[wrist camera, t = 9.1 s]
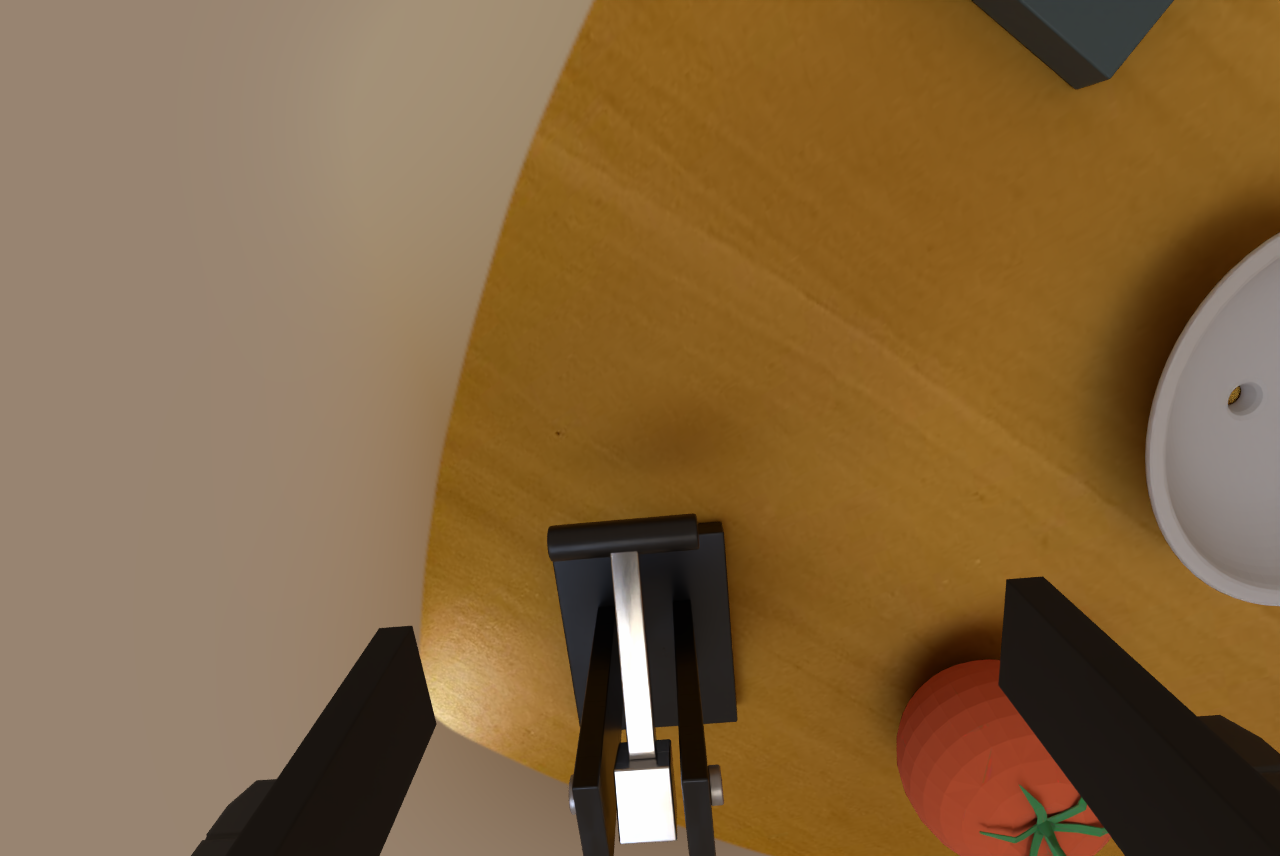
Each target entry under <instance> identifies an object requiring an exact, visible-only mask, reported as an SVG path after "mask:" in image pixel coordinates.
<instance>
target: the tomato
mask: <svg viewBox="0 0 1280 856" xmlns="http://www.w3.org/2000/svg"><path fill="white" fill-rule="evenodd" d="M999 669H1000V660H993V659H987V660H976V661H970V662H966V663H962V664H958V665H954V666H952V667H949V668H947V669H945V670H942V671H941V672H939V673H938V674H936V675H934V676H933V677H931V678H930V679H929V680H928V681H927V682H926V683H925V684H923V685H922V686H921V687H920V688H919V689H918V690H917V691H916V693H915V694H914V695H913V697H912V698H911V699H910V700H909V702H908V704H907V706H906V708H905V710H904V712H903V715H902V718H901V721H900V725H899V729H898V733H897V765H898V769H899V773H900V777H901V780H902V783H903V787H904V790H905V793H906V795H907V797H908V798H909V800H910V802H911V804H912V805H913V807H914V809H915V811H916V812H917V814H918V816H919V817H920V819H921V821H922V822H923V823H924V824H925V825H926V826H927V827H928V828H929V829H930V830H931V831H932V833H933V834H934V835H935V836H936V837H937V838H938V839H939V840H940V841H941V842H942V843H943V844H944V845H945V846H947V847H948V848H950V849H951V850H953V851H954V852H956V853H957V854H959V855H960V856H1093V855H1095V854H1096V853H1097V852H1099V851H1100V850H1101V849H1102V847H1103V846H1104V845H1105V844H1106V843H1107V842H1108V841H1109V839H1110V838H1111V836H1110V835H1109V833H1108V832H1107V831H1106V829H1105V828H1104V827H1103V825H1102V824H1101V823H1100V821H1099V820H1098V819H1097V817H1096V816H1095V815H1094V813H1093V812H1092V811H1091V809H1090V808H1089V806H1088V805H1087V804H1086V802H1085V801H1084V800H1083V798H1082V797H1081V796H1080V794H1079V793H1078V792H1077V790H1076V789H1075V788H1074V786H1073V785H1072V784H1071V782H1070V781H1069V780H1068V778H1067V777H1066V776H1065V774H1064V773H1063V772H1062V770H1061V769H1060V768H1059V766H1058V765H1057V763H1056V762H1055V761H1054V759H1053V758H1052V757H1051V755H1050V754H1049V753H1048V751H1047V750H1046V749H1045V747H1044V746H1043V745H1042V743H1041V742H1040V741H1039V739H1038V738H1037V737H1036V735H1035V734H1034V733H1033V731H1032V730H1031V729H1030V727H1029V726H1028V725H1027V723H1026V722H1025V721H1024V719H1023V718H1022V716H1021V715H1020V714H1019V712H1018V711H1017V710H1016V708H1015V707H1014V706H1013V704H1012V703H1011V702H1010V700H1009V699H1008V698H1007V696H1006V695H1005V694H1004V692H1003V691H1002V690H1001V688H1000V687H999V686H998V682H999Z"/></svg>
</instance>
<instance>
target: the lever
mask: <svg viewBox="0 0 1280 856" xmlns="http://www.w3.org/2000/svg"><path fill="white" fill-rule="evenodd" d="M547 546H548V553H549V557H550V559H551V561H553V562H555V561H567V560H579V559H591V558H603V557H611V567H612V578H613V589H614V601H615V612H616V623H617V634H618V646H619V657H620V668H621V680H622V691H623V702H624V713H625V725H626V736H627V742H623V743H619V744H618V749H617V755H616V760H615V765H614V770H613V774H614V786H615V797H616V809H617V820H618V831H619V841H620V844H635V843H651V842H668V841H676V840H677V802H676V791H675V780H674V769H673V758H672V747H671V740H669V739H667V740H656V730H655V719H654V708H653V697H652V686H651V675H650V664H649V653H648V642H647V631H646V620H645V609H644V598H643V587H642V576H641V565H640V554H651V553H663V552H675V551H687V550H697V549H699V535H698V525H697V517H696V514H682V515H671V516H659V517H648V518H636V519H625V520H613V521H601V522H590V523H578V524H567V525H555V526H550V527H549V529H548V534H547Z"/></svg>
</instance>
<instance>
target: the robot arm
mask: <svg viewBox="0 0 1280 856" xmlns="http://www.w3.org/2000/svg"><path fill="white" fill-rule="evenodd" d="M998 686H999V687H1000V688H1001V690H1002V691H1003V692H1004V694H1005V695H1006V696H1007V698H1008V699H1009V700H1010V702H1011V703H1012V704H1013V706H1014V707H1015V708H1016V710H1017V711H1018V712H1019V714H1020V715H1021V716H1022V718H1023V719H1024V721H1025V722H1026V723H1027V725H1028V726H1029V727H1030V729H1031V730H1032V731H1033V733H1034V734H1035V735H1036V737H1037V738H1038V739H1039V741H1040V742H1041V743H1042V745H1043V746H1044V747H1045V749H1046V750H1047V751H1048V753H1049V754H1050V755H1051V757H1052V758H1053V759H1054V761H1055V762H1056V763H1057V765H1058V766H1059V768H1060V769H1061V770H1062V772H1063V773H1064V774H1065V776H1066V777H1067V778H1068V780H1069V781H1070V782H1071V784H1072V785H1073V786H1074V788H1075V789H1076V790H1077V792H1078V793H1079V794H1080V796H1081V797H1082V798H1083V800H1084V801H1085V802H1086V804H1087V805H1088V806H1089V808H1090V809H1091V811H1092V812H1093V813H1094V815H1095V816H1096V817H1097V819H1098V820H1099V821H1100V823H1101V824H1102V825H1103V827H1104V828H1105V829H1106V831H1107V832H1108V833H1109V835H1110V836H1111V837H1112V839H1113V840H1114V841H1115V843H1116V844H1117V845H1118V847H1119V848H1120V849H1121V851H1122V852H1123V853H1124V855H1125V856H1280V754H1279V753H1278V752H1277V751H1276V750H1275V749H1273V748H1272V747H1271V746H1270V745H1269V744H1268V743H1266V742H1265V741H1264V740H1263V739H1262V738H1260V737H1259V736H1257V735H1255V734H1253V733H1251V732H1250V731H1248V730H1246V729H1244V728H1242V727H1241V726H1239V725H1237V724H1235V723H1234V722H1232V721H1230V720H1228V719H1226V718H1225V717H1223V716H1221V715H1213V716H1198V717H1197V716H1196V715H1195V714H1194V713H1193V712H1191V711H1190V710H1189V709H1188V708H1187V707H1186V706H1185V705H1184V704H1183V703H1182V702H1180V701H1179V700H1178V699H1177V698H1176V697H1175V696H1174V695H1173V694H1172V693H1171V692H1169V691H1168V690H1167V689H1166V688H1165V687H1164V686H1163V685H1162V684H1161V683H1160V682H1158V681H1157V680H1156V679H1155V678H1154V677H1153V676H1152V675H1151V674H1150V673H1149V672H1147V671H1146V670H1145V669H1144V668H1143V667H1142V666H1141V665H1140V664H1139V663H1138V662H1136V661H1135V660H1134V659H1133V658H1132V657H1131V656H1130V655H1129V654H1128V653H1127V652H1125V651H1124V650H1123V649H1122V648H1121V647H1120V646H1119V645H1118V644H1117V643H1116V642H1114V641H1113V640H1112V639H1111V638H1110V637H1109V636H1108V635H1107V634H1106V633H1105V632H1103V631H1102V630H1101V629H1100V628H1099V627H1098V626H1097V625H1096V624H1095V623H1094V622H1092V621H1091V620H1090V619H1089V618H1088V617H1087V616H1086V615H1085V614H1084V613H1083V612H1081V611H1080V610H1079V609H1078V608H1077V607H1076V606H1075V605H1074V604H1073V603H1072V602H1070V601H1069V600H1068V599H1067V598H1066V597H1065V596H1064V595H1063V594H1062V593H1061V592H1059V591H1058V590H1057V589H1056V588H1055V587H1054V586H1053V585H1052V584H1051V583H1050V582H1048V581H1047V580H1046V579H1045V578H1044V577H1031V578H1019V579H1007V580H1006V593H1005V606H1004V618H1003V631H1002V644H1001V657H1000V669H999V682H998ZM435 726H436V720H435V716H434V712H433V708H432V704H431V700H430V696H429V692H428V688H427V684H426V680H425V676H424V672H423V667H422V663H421V659H420V655H419V651H418V647H417V643H416V639H415V635H414V631H413V627H412V626H402V627H389V628H379V629H378V631H377V632H376V634H375V635H374V637H373V638H372V640H371V641H370V643H369V644H368V646H367V647H366V649H365V650H364V652H363V653H362V655H361V656H360V657H359V659H358V661H357V662H356V663H355V665H354V666H353V668H352V669H351V671H350V672H349V674H348V675H347V677H346V678H345V680H344V681H343V682H342V684H341V685H340V687H339V688H338V690H337V692H336V693H335V694H334V696H333V697H332V699H331V700H330V702H329V703H328V705H327V706H326V708H325V709H324V710H323V712H322V713H321V715H320V716H319V718H318V719H317V721H316V723H315V724H314V725H313V727H312V728H311V730H310V731H309V733H308V734H307V736H306V737H305V738H304V740H303V741H302V743H301V745H300V746H299V747H298V749H297V750H296V752H295V753H294V755H293V756H292V758H291V759H290V761H289V762H288V764H287V765H286V767H285V768H284V769H283V771H282V773H281V774H280V775H279V777H278V778H277V779H273V780H258V781H256V782H254V783H253V784H252V785H251V786H250V787H249V788H247V789H246V790H245V791H244V792H243V793H242V794H241V795H239V797H237V798H236V799H235V800H234V801H233V802H231V803H230V804H229V805H228V806H227V807H226V809H225V810H224V811H223V813H222V814H221V815H220V817H219V818H218V820H217V821H216V822H215V824H214V825H213V826H212V828H211V829H210V830H209V832H208V833H207V837H206V839H205V840H202V841H201V843H200V844H199V845H198V847H197V848H196V850H195V851H194V852H193V854H192V855H191V856H380V853H381V851H382V849H383V846H384V844H385V842H386V839H387V837H388V835H389V833H390V830H391V828H392V826H393V823H394V821H395V818H396V816H397V814H398V811H399V809H400V807H401V805H402V803H403V800H404V797H405V795H406V793H407V791H408V789H409V786H410V784H411V782H412V779H413V777H414V775H415V773H416V770H417V768H418V765H419V763H420V761H421V759H422V757H423V754H424V752H425V750H426V747H427V745H428V743H429V740H430V738H431V735H432V734H433V731H434V729H435Z"/></svg>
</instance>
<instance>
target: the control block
mask: <svg viewBox="0 0 1280 856" xmlns="http://www.w3.org/2000/svg"><path fill="white" fill-rule="evenodd" d="M972 1H973V2H974V3H976V4H977V5H978V6H979V7H980V8H981V9H983V10H984V11H985V12H986V13H987V14H988V15H990V16H991V17H992V18H993V19H994V20H995V21H997V22H998V23H999V24H1000V25H1001V26H1002V27H1003V28H1005V29H1006V30H1007V31H1008V32H1009V33H1010V34H1012V35H1013V36H1014V37H1015V38H1016V39H1017V40H1019V41H1020V42H1021V43H1022V44H1023V45H1024V46H1026V47H1027V48H1028V49H1029V50H1030V51H1031V52H1033V53H1034V54H1035V55H1036V56H1037V57H1038V58H1040V59H1041V60H1042V61H1043V62H1044V63H1045V64H1047V65H1048V66H1049V67H1050V68H1051V69H1052V70H1054V71H1055V72H1056V73H1057V74H1058V75H1059V76H1061V77H1062V78H1063V79H1064V80H1065V81H1066V82H1068V83H1069V84H1070V85H1071V86H1072V87H1073V88H1075V89H1080V88H1083V87H1086V86H1089V85H1092V84H1096V83H1099V82H1102V81H1105V80H1108V79H1110V78H1111V77H1112V76H1113V75H1114V73H1115V72H1116V71H1117V70H1118V69H1119V67H1120V66H1121V65H1122V64H1123V62H1124V61H1125V60H1126V59H1127V57H1128V56H1129V55H1130V54H1131V52H1132V51H1133V50H1134V49H1135V48H1136V46H1137V45H1138V44H1139V43H1140V41H1141V40H1142V39H1143V38H1144V36H1145V35H1146V34H1147V33H1148V31H1149V30H1150V29H1151V28H1152V27H1153V25H1154V24H1155V23H1156V22H1157V20H1158V19H1159V18H1160V17H1161V15H1162V14H1163V13H1164V12H1165V10H1166V9H1167V8H1168V7H1169V6H1170V4H1171V3H1172V2H1173V1H1174V0H972Z"/></svg>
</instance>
